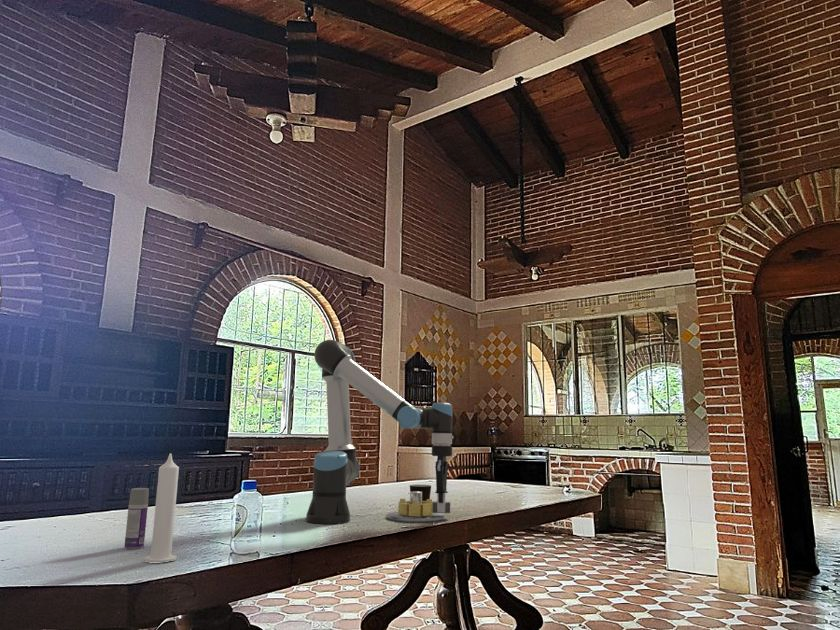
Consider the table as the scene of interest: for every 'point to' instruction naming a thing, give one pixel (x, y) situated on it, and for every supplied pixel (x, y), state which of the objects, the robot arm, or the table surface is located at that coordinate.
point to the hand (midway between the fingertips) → (441, 512)
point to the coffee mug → (422, 490)
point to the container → (136, 518)
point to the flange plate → (415, 519)
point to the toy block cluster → (420, 508)
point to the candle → (164, 513)
